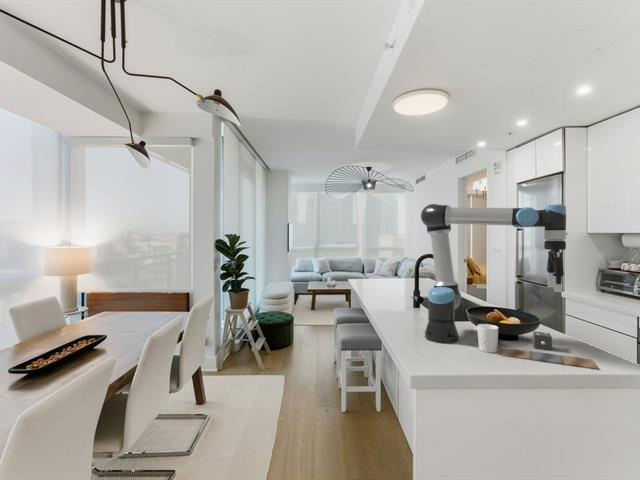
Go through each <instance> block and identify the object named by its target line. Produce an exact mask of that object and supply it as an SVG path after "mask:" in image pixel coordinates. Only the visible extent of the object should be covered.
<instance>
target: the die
mask: <svg viewBox="0 0 640 480" xmlns="http://www.w3.org/2000/svg"><path fill="white" fill-rule="evenodd" d="M552 338H553V336H552V335H551V333H550V332H543V331H535V330H534V331H532V345H533V347H534V348H533V349H534V350H535V349H536V350H541V351H551V352H552V351H553V344H552V343H553V342H552V340H553V339H552Z"/></svg>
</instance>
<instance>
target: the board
mask: <svg viewBox="0 0 640 480" xmlns="http://www.w3.org/2000/svg"><path fill="white" fill-rule="evenodd" d="M501 356H502V357H507V358H513V359H514V358H516V359H521V360H529V361H535V362H540V363H541V362H542V363H549V364H558V365H562V366H571V367H576V368H577V367H578V368H582V367H583V368H584V369H589V368H590V370H591V369H592V370H596V369H597V371H599V370H600V369H599V367H598V366H597V365H596V363H595V362H594V361H593V360H592V358H586V357H577V356H569V355H563V354H556V353H549V352H539V351H533V350H527V349H526V350H525V349H518V348H510V347H503V346H501Z"/></svg>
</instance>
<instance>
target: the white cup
mask: <svg viewBox="0 0 640 480" xmlns="http://www.w3.org/2000/svg"><path fill="white" fill-rule="evenodd" d="M476 328H477V341H478V349H479V350H480V351H482V352H484V353H491V354H492V353H493V354H494V353H497V352H498V345H499V343H498V342H499V340H498V339H499V326H497V325H493V324H489V323H479V324H477V325H476Z"/></svg>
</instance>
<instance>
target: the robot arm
mask: <svg viewBox="0 0 640 480" xmlns="http://www.w3.org/2000/svg"><path fill="white" fill-rule="evenodd" d="M543 208H544V209H535V208H533V207H528V206H527V207H526V206H525V207H455V206H454V207H451V206H450V205H449V204H436V203H431V204H428V205H426V206H425V207H424V208H423V209H422V210H421V213H420V218H421V221H422V224H424V225H425V226H426V231H427V234H428V235H429V236H430V238H431V239H430V240H431V248H432V249H431V250H432V257H433V264H434V273H435V282H434V283H433V287H431V288H430V289H429V290H428V292H427V299H428V300H427V301H428V302H427V305H428V307H427V309H428V310H427V311H428V322H427V324H426V327H425V329H424V338H425V337H426V338H427V339H426V338H425V339H426V340H428V339H429V340H428V341H430V340H431V342H434V341H435V342H434V343H443V344H453V343H457V342H459V341H460V335H459V332H458V329H457V326H456V322H455V321H456V320H455V315H456V314H455V310H456V309H457V308H458V307H459V306H460V305H461V303H462V294H461V292H460V290H459V283H458V282H457V281H456V280H455V274H454V270H453V262H452V261H453V259H452V251H451V242H450V236H449V233H450V232H451V231H452V226H451V225H452V224H454V225H484V226H486V225H487V226H489V225H490V226H512V227H514V228H544V230H543V237H544V238H543V240H545V241H543V242H544V243H543V245H544V246H543V249H544V250H548V252H547V255H548V256H547V266H546V271H547V288H553V292H554V293H563V276H564V275H565V273H564V264H563V252H562V251H563V250H564V251H565V250H566V249H567V242H566V239H567V236H568V232H567V229H566V228H567V210H566V209H567V207H566V205H565V204H562V203H561V204H560V203H559V204H557V203H556V204H545V206H544V207H543ZM560 251H561V252H560Z"/></svg>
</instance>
